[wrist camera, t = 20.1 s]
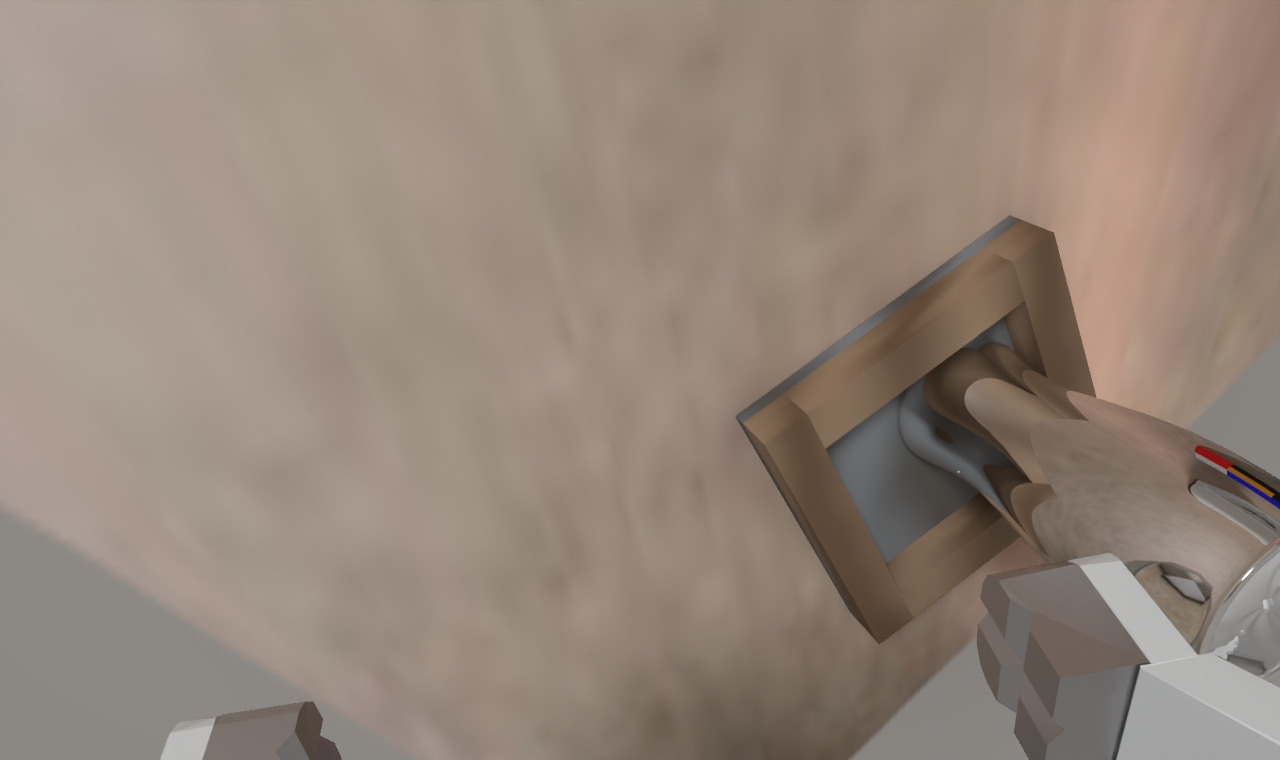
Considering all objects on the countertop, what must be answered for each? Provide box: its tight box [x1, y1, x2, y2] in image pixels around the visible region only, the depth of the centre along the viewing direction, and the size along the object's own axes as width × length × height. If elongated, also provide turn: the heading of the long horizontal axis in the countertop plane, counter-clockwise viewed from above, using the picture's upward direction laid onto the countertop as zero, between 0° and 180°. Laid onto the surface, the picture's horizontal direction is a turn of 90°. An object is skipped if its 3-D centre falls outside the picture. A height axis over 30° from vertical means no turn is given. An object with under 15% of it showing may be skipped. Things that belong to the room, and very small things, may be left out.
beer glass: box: [899, 334, 1280, 683], centre depth 34 cm, size 7×7×15 cm
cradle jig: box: [736, 216, 1096, 644], centre depth 40 cm, size 14×14×2 cm
